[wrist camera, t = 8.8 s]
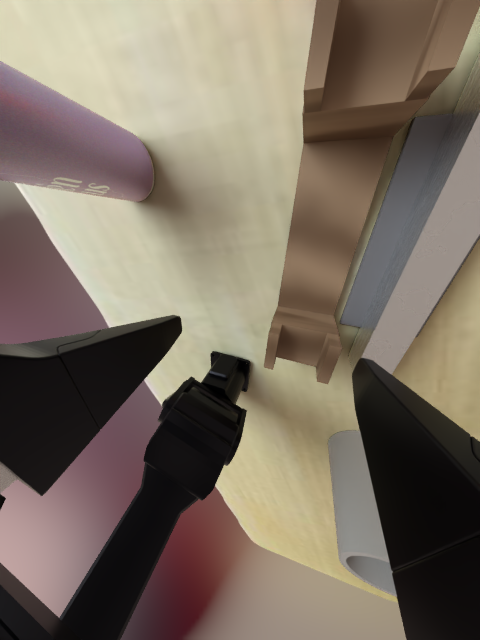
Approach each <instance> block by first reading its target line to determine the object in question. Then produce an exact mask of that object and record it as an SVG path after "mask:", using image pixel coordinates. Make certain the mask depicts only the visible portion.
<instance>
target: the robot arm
mask: <svg viewBox="0 0 480 640" xmlns="http://www.w3.org/2000/svg"><path fill="white" fill-rule="evenodd" d="M181 332H182V324H181V318H180V317H179V316H175V315H171V316H166V317H161V318H156V319H151V320H146V321H141V322H136V323H131V324H126V325H121V326H116V327H111V328H107V329H102V330H97V331H92V332H86V333H82V334H76V335H71V336H65V337H59V338H53V339H47V340H41V341H35V342H29V343H22V344H0V493H1V492H2V491H4V490H5V489H6V488H7V487H8V486H9V485H11V484H12V483H13V482H14V481H15V480H17V479H18V480H19V481H21V482H22V483H24V484H25V485H27V486H28V487H29V488H31V489H32V490H34V491H35V492H36V493H38V494H39V495H41V496H43V495H44V494H45V493H46V492H47V491H48V490H49V488H50V487H51V486H52V485H53V484H54V483H55V482H56V481H57V479H58V478H59V477H60V476H61V475H62V474H63V472H64V471H65V470H66V469H67V468H68V467H69V466H70V464H71V463H72V462H73V461H74V460H75V459H76V457H77V456H78V455H79V454H80V453H81V452H82V451H83V449H84V448H85V447H86V446H87V445H88V444H89V443H90V441H91V440H92V439H93V438H94V437H95V436H96V434H97V433H98V432H99V431H100V429H102V427H103V426H104V425H105V424H106V423H107V422H108V420H109V419H110V418H111V417H112V416H113V415H114V414H115V412H116V411H117V410H118V409H119V408H120V406H121V405H122V404H123V403H124V402H125V401H126V400H127V399H128V397H129V396H130V395H131V394H132V393H133V392H134V391H135V389H136V388H137V387H138V386H139V385H140V384H141V383H142V381H143V380H144V379H145V378H146V377H147V376H148V375H149V373H150V372H151V371H152V370H153V369H154V368H155V367H156V365H157V364H158V363H159V362H160V361H161V360H162V358H163V357H164V356H165V355H166V354H167V352H168V351H169V350H170V348H171V347H172V345H173V344H174V343H175V341H176V340H177V338H178V337H179V336H180V334H181ZM246 363H247V364H246ZM249 372H250V361H248V360H245V359H241V358H238V357H234V356H230V355H226V354H222V353H218V352H215V351H213V352H212V353H211V369H210V371H209V372H208V373H207V375H206V376H205V378H204V379H203V381H202V382H201V383H200V382H198V381H197V380H195V378H193V377H192V376H191V377H190V378H189V379H188V380H186V381H185V382H183V384H182V385H181V386H180V387H179V389H178V390H177V391H176V392H174V393H173V394H172V395H171V396H169V397H168V398H167V399H165V401H164V402H163V404H162V408H163V410H162V412H161V414H160V416H159V419H158V422H160V423H161V424H160V426H159V427H158V429H157V430H156V432H155V433H154V435H153V436H152V438H151V439H150V441H149V444H148V445H147V448H146V452H145V456H144V462H145V467H144V473H143V479H142V484H141V488H140V489H139V491H138V493H137V494H136V496H135V498H134V499H133V501H132V502H131V504H130V505H129V507H128V509H127V510H126V512H125V514H124V515H123V517H122V518H121V520H120V521H119V523H118V525H117V526H116V528H115V529H114V531H113V533H112V534H111V536H110V538H109V539H108V541H107V542H106V544H105V546H104V547H103V549H102V550H101V552H100V554H99V555H98V557H97V558H96V560H95V562H94V563H93V565H92V566H91V568H90V570H89V571H88V573H87V574H86V576H85V578H84V579H83V581H82V582H81V584H80V586H79V587H78V589H77V590H76V592H75V594H74V595H73V597H72V599H71V600H70V602H69V603H68V605H67V607H66V608H65V610H64V612H63V613H62V615H61V616H60V618H58V617H57V616H56V615H55V614H54V613H53V612H52V611H51V610H50V609H49V608H48V607H47V606H46V605H45V604H44V603H42V602H41V601H40V600H39V599H38V598H37V597H36V596H35V595H34V594H33V593H32V592H31V591H30V590H29V589H27V587H25V586H24V585H23V584H22V583H21V582H20V581H19V580H18V579H17V578H16V577H15V576H14V575H13V574H11V572H9V571H8V570H7V569H6V568H5V567H4V566H3V565H2V564H1V563H0V640H120V639H121V637H122V635H123V633H124V631H125V629H126V626H127V624H128V622H129V620H130V618H131V616H132V614H133V612H134V610H135V608H136V606H137V604H138V602H139V599H140V597H141V595H142V593H143V591H144V589H145V587H146V585H147V583H148V581H149V579H150V577H151V575H152V572H153V570H154V568H155V566H156V564H157V562H158V560H159V558H160V556H161V554H162V552H163V549H164V548H165V545H166V543H167V541H168V539H169V537H170V535H171V533H172V531H173V529H174V526H175V524H176V523H177V520H178V518H179V517H180V514H181V513H183V511H185V510H186V509H187V508H189V507H190V506H191V505H192V504H193V503H195V502H196V501H197V500H198V499H200V500H203V499H205V498H206V497H207V495H209V494H210V493H211V491H212V490H213V489H214V486H215V484H216V482H217V479H218V477H219V475H220V473H221V471H222V468H223V466H224V464H225V465H226V466H227V465H228V464H229V463H230V462H231V460H232V459H233V457H234V455H235V453H236V451H237V448H238V446H239V443H240V440H241V437H242V432H243V427H244V422H245V417H246V412H247V410H245V409H242V408H241V407H239V406H237V405H236V402H237V399H238V397H239V395H240V392H241V391H244V392H246V391H247V390H248V383H249ZM352 382H353V392H354V403H355V410H356V415H357V420H358V424H359V429H360V433H361V438H362V442H363V447H364V451H365V456H366V460H367V464H368V469H369V473H370V478H371V482H372V487H373V491H374V496H375V500H376V505H377V509H378V514H379V518H380V522H381V527H382V531H383V536H384V540H385V545H386V549H387V554H388V558H389V563H390V567H391V570H392V577H393V581H394V586H395V590H396V595H397V599H398V604H399V608H400V613H401V617H402V622H403V626H404V630H405V635H406V639H407V640H480V442H479V441H478V440H477V439H475V438H474V437H470V434H469V433H467V432H466V431H465V430H463V429H462V428H461V427H459V426H458V425H457V424H456V423H454V422H453V421H452V420H450V419H449V418H448V417H446V416H445V415H444V414H442V413H441V412H440V411H438V410H437V409H436V408H435V407H433V406H432V405H431V404H429V403H428V402H427V401H425V400H424V399H423V398H421V397H420V396H419V395H417V394H416V393H415V392H414V391H412V390H411V389H410V388H408V387H407V386H406V385H404V384H403V383H402V382H400V381H399V380H398V379H396V378H395V377H394V376H393V375H391V374H390V373H389V372H387V371H386V370H385V369H383V368H382V367H381V366H379V365H378V364H377V363H375V362H374V361H373V360H371V359H366V358H360V359H359V360H358V362H357V364H356V366H355V368H354V370H353V373H352ZM5 499H6V498H5V497H3V496H2V495H1V494H0V509H1V507H2V505H3V503H4V501H5Z"/></svg>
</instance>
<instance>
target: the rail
mask: <svg viewBox="0 0 480 640" xmlns="http://www.w3.org/2000/svg"><path fill="white" fill-rule="evenodd" d="M479 235H480V52H479V55H478V57H477V59H476V62H475V64H474V66H473V69H472V71H471V73H470V76H469V78H468V80H467V82H466V85H465V87H464V89H463V92H462V94H461V96H460V99H459V101H458V103H457V106H456V108H455V110H454V112H453V115H452V117H451V119H450V122H449V124H448V126H447V129H446V131H445V133H444V136H443V138H442V140H441V142H440V145H439V147H438V149H437V152H436V154H435V156H434V159H433V161H432V163H431V165H430V168H429V170H428V172H427V175H426V177H425V179H424V182H423V184H422V186H421V189H420V191H419V193H418V195H417V198H416V200H415V202H414V205H413V207H412V209H411V212H410V214H409V216H408V219H407V221H406V223H405V225H404V228H403V230H402V232H401V235H400V237H399V239H398V242H397V244H396V246H395V249H394V251H393V253H392V255H391V258H390V260H389V262H388V265H387V267H386V269H385V272H384V274H383V276H382V279H381V281H380V283H379V285H378V288H377V290H376V292H375V295H374V297H373V299H372V302H371V304H370V306H369V309H368V311H367V313H366V315H365V318H364V320H363V322H362V325H361V327H360V329H359V332H358V334H357V336H356V338H355V341H354V343H353V345H352V348H351V350H350V352H349V355H348V358H349V361H350V364H351V367H352V370H354V368H355V366H356V364H357V362H358V360H359V359H360V358H366V359H371V360H373V361H374V362H375V363H377V364H378V365H379V366H381V367H382V368H383V369H385V370H386V371H387V372H389V373H390V374H391V375H392V373H393V372H394V370H395V368H396V367H397V365H398V364H399V362H400V360H401V359H402V357H403V356H404V354H405V353H406V351H407V349H408V348H409V346H410V345H411V343H412V341H413V340H414V338H415V337H416V335H417V333H418V332H419V330H420V329H421V327H422V325H423V324H424V322H425V321H426V319H427V317H428V316H429V314H430V313H431V311H432V309H433V308H434V306H435V305H436V303H437V302H438V300H439V298H440V297H441V295H442V294H443V292H444V290H445V289H446V287H447V286H448V284H449V282H450V281H451V279H452V278H453V276H454V274H455V273H456V271H457V270H458V268H459V266H460V265H461V263H462V262H463V260H464V258H465V257H466V255H467V254H468V252H469V250H470V249H471V247H472V246H473V244H474V243H475V241H476V239H477V238H478V236H479Z"/></svg>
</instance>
